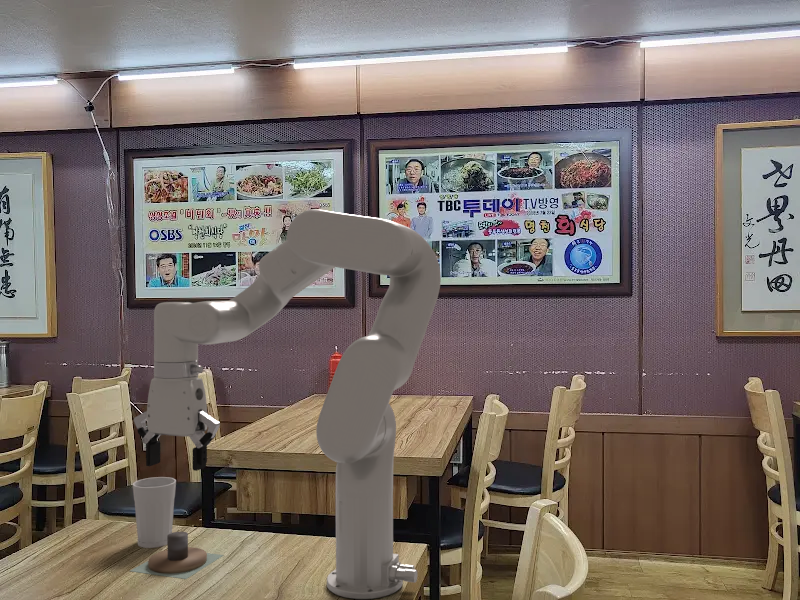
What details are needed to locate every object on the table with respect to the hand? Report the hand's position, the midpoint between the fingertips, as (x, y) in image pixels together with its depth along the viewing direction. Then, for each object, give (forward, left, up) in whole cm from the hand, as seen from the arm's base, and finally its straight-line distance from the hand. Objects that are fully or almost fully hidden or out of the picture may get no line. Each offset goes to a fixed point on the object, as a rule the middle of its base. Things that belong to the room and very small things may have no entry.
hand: (176, 466), depth 126 cm
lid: (0, 0, -17) cm, 17 cm away
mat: (0, 0, -18) cm, 18 cm away
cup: (+11, -8, -18) cm, 22 cm away
